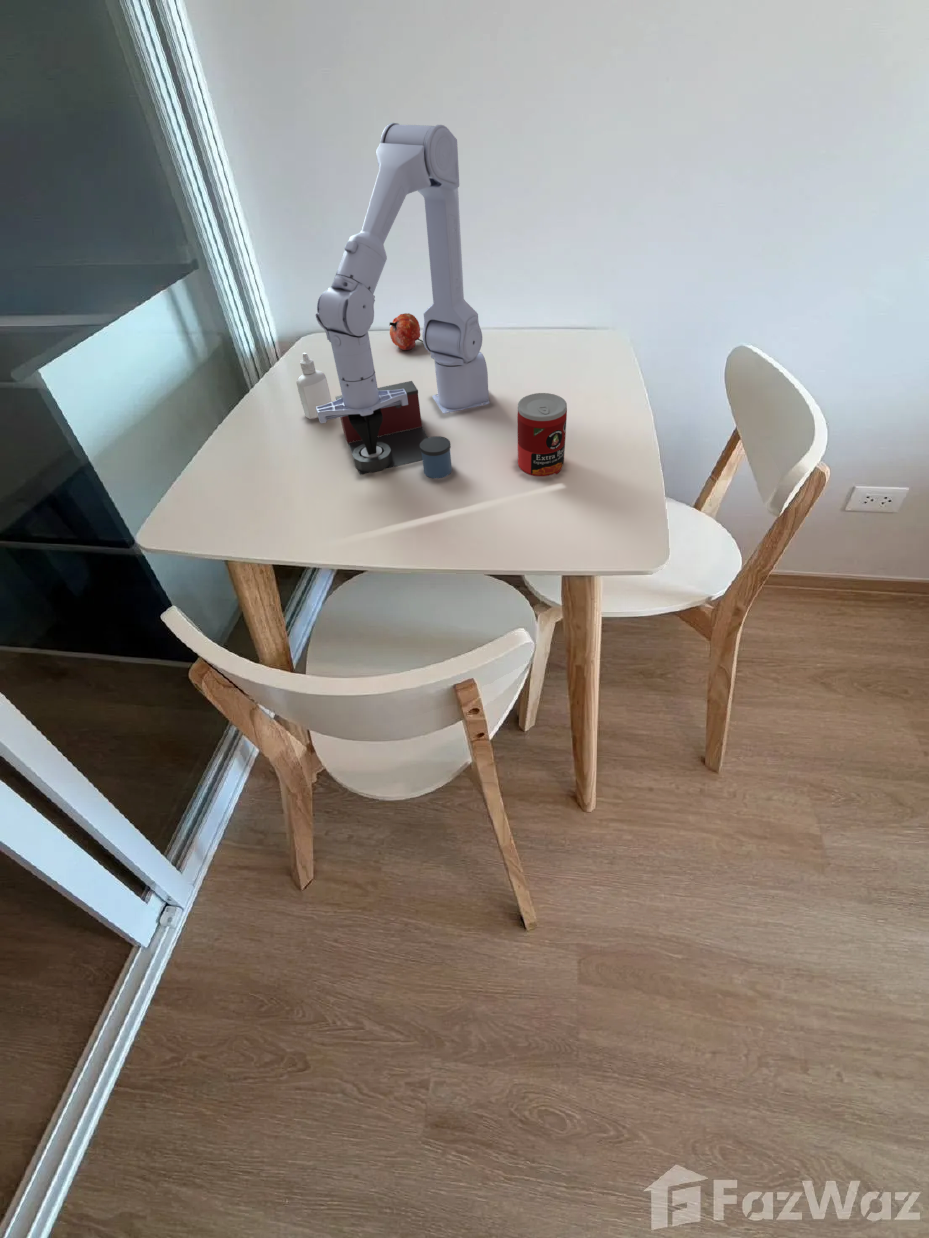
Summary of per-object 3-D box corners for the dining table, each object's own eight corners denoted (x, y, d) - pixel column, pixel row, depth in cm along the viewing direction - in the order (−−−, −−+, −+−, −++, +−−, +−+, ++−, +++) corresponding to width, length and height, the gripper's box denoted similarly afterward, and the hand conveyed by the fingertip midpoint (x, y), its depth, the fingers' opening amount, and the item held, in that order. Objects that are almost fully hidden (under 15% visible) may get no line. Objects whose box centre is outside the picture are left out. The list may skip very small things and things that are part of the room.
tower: (424, 432, 114) (419, 392, 108) (349, 449, 111) (340, 409, 106) (416, 419, 117) (412, 380, 112) (343, 435, 115) (335, 396, 109)
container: (447, 462, 106) (445, 433, 102) (456, 477, 103) (454, 448, 99) (419, 469, 106) (416, 440, 102) (428, 484, 102) (424, 455, 98)
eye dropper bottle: (335, 417, 120) (320, 355, 111) (306, 422, 119) (289, 360, 111) (333, 407, 123) (319, 346, 114) (304, 412, 122) (288, 351, 114)
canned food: (533, 484, 100) (534, 422, 92) (508, 462, 105) (507, 401, 97) (573, 470, 102) (577, 407, 94) (546, 448, 107) (549, 387, 99)
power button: (386, 464, 106) (384, 454, 104) (365, 469, 105) (363, 458, 104) (381, 454, 108) (379, 443, 107) (361, 458, 108) (359, 448, 106)
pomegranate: (410, 348, 146) (375, 329, 139) (426, 319, 142) (391, 299, 135) (421, 363, 141) (385, 345, 135) (438, 334, 138) (402, 314, 131)
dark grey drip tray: (440, 460, 107) (438, 446, 105) (359, 478, 105) (356, 465, 103) (422, 429, 115) (421, 416, 113) (347, 446, 112) (344, 433, 110)
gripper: (313, 393, 92) (333, 473, 101) (408, 374, 94) (418, 453, 104) (306, 374, 96) (326, 451, 106) (397, 356, 99) (407, 433, 109)
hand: (371, 451), depth 105 cm, fingers closed, pressing on power button
